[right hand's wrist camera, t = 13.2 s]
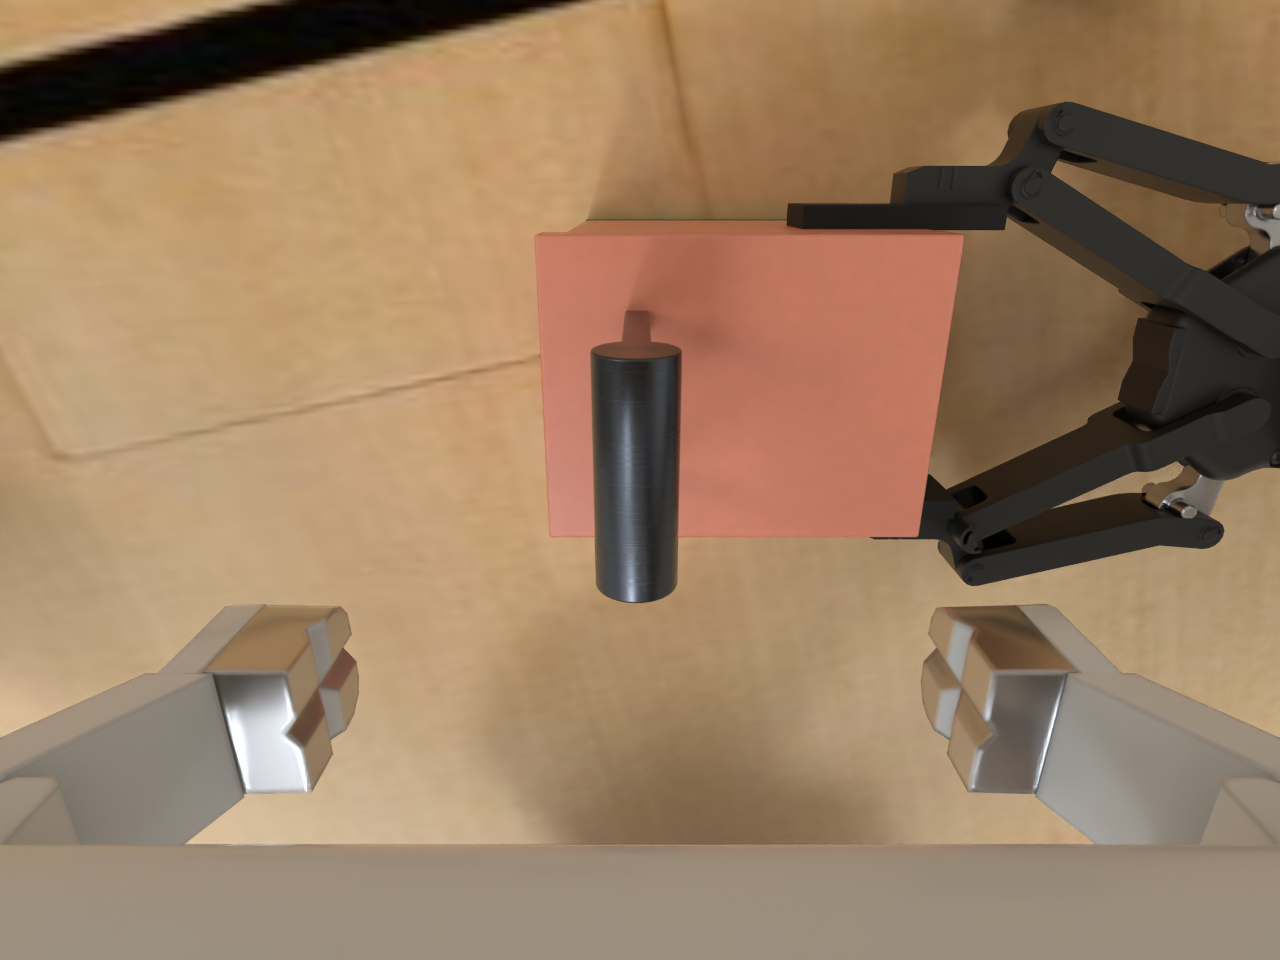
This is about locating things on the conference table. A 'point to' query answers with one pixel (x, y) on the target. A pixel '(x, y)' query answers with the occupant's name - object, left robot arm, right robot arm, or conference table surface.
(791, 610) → the conference table surface
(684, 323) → the lid
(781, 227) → the chest
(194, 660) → the right robot arm
